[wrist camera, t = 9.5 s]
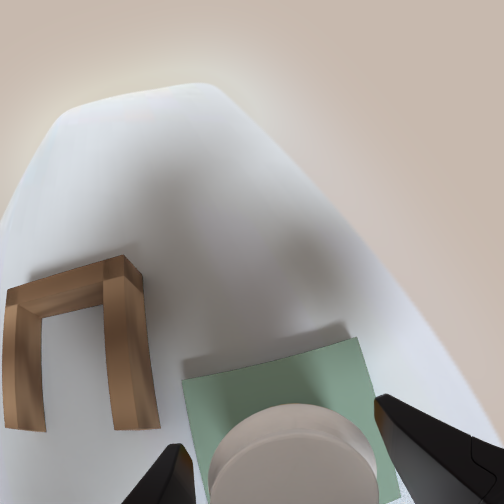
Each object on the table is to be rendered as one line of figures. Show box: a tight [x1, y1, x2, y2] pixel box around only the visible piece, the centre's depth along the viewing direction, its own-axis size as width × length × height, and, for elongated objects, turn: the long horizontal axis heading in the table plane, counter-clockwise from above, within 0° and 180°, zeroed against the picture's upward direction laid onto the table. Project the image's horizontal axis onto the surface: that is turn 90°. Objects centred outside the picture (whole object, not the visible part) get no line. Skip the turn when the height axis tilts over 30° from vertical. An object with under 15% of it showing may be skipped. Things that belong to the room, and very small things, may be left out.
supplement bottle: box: [208, 403, 379, 504], centre depth 10 cm, size 5×5×10 cm
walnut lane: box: [2, 255, 161, 432], centre depth 18 cm, size 10×11×3 cm
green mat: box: [182, 337, 401, 504], centre depth 15 cm, size 10×10×1 cm
